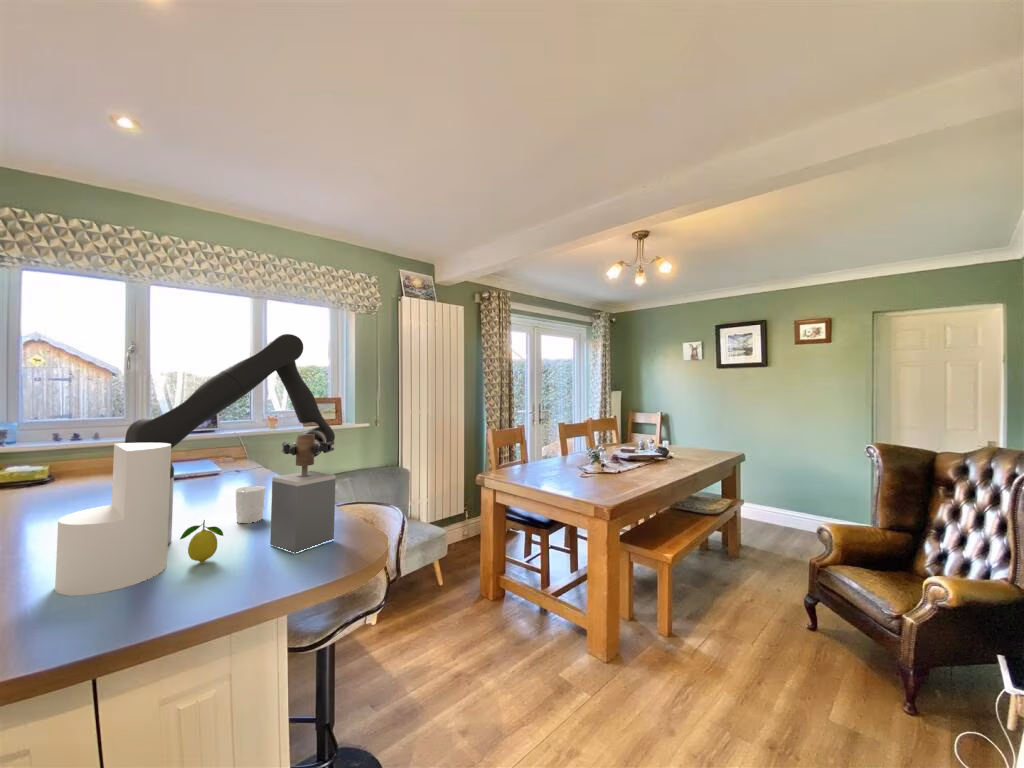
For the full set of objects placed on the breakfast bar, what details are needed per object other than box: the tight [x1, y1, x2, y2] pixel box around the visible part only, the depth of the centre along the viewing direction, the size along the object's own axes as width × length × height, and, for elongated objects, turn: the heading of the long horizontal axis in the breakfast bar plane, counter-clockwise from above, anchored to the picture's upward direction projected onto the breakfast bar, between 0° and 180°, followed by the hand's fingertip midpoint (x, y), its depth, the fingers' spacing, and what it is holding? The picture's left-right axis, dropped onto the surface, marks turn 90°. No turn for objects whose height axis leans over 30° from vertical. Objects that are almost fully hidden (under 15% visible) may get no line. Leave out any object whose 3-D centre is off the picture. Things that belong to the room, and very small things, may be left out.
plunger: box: [295, 433, 315, 478], centre depth 109 cm, size 8×8×27 cm
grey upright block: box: [269, 470, 337, 553], centre depth 109 cm, size 11×11×18 cm
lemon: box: [179, 519, 224, 564], centre depth 96 cm, size 7×6×10 cm
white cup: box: [235, 485, 266, 524], centre depth 128 cm, size 8×8×10 cm
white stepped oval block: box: [54, 442, 172, 597], centre depth 89 cm, size 17×17×28 cm
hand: (304, 450), depth 107 cm, fingers closed on plunger, 4 cm apart
